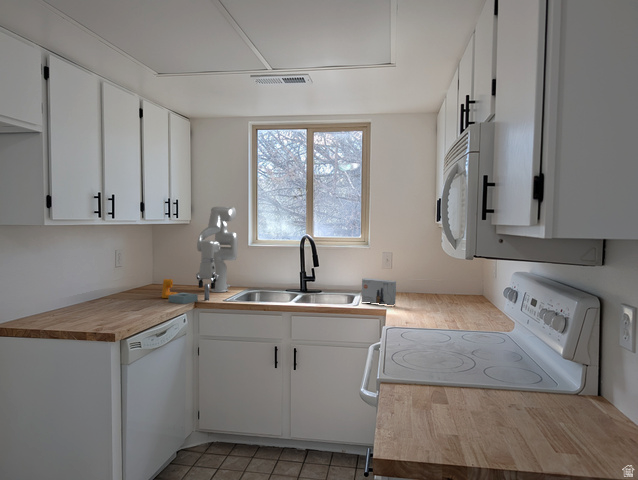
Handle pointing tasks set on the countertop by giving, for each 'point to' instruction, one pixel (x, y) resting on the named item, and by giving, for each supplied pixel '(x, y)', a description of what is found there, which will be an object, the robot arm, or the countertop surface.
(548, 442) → the countertop surface
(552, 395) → the countertop surface
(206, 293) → the peg
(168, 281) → the bracket
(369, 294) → the skincare box
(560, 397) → the countertop surface
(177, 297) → the socket block
